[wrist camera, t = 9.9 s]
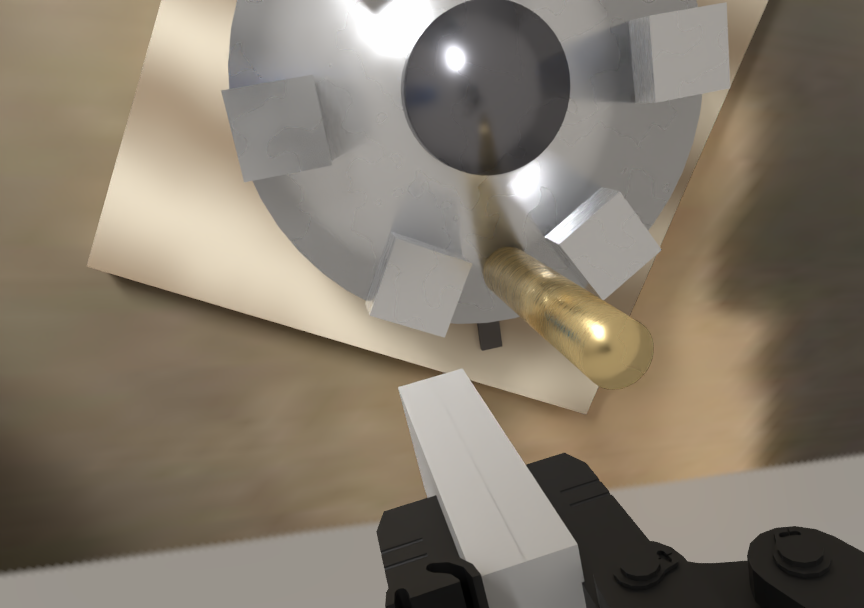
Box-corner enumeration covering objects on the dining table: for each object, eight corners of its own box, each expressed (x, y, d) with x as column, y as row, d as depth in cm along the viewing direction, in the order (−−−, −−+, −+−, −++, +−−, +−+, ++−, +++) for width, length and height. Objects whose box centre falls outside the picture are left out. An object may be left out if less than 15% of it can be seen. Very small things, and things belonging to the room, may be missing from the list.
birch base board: (267, -345, 26) (265, -377, 24) (776, -62, 33) (803, -72, 31) (96, 259, 31) (84, 267, 29) (574, 402, 37) (588, 416, 35)
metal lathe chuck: (181, -117, 26) (72, -349, 13) (636, -177, 28) (940, -426, 15) (293, 337, 31) (297, 506, 18) (667, 253, 34) (913, 347, 21)
